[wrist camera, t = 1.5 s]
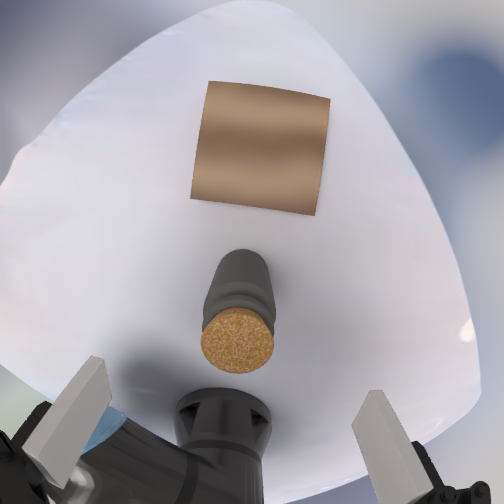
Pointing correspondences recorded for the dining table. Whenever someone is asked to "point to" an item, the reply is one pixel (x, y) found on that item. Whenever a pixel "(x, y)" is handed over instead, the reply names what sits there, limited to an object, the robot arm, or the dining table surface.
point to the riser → (261, 147)
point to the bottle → (239, 314)
